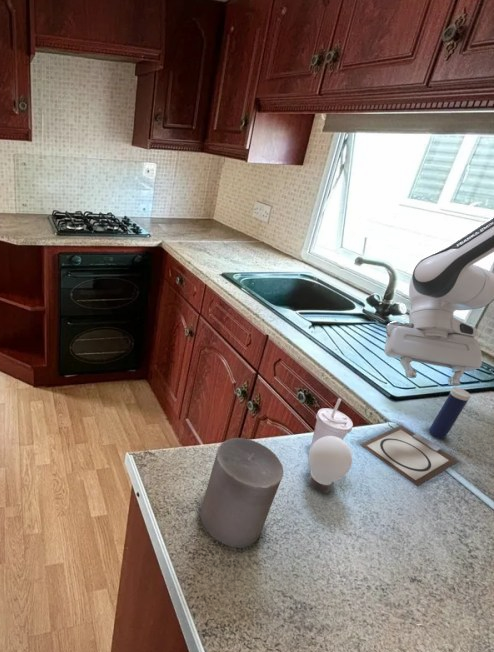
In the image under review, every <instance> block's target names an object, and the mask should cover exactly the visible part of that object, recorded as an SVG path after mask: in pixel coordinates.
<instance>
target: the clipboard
mask: <svg viewBox="0 0 494 652" xmlns="http://www.w3.org/2000/svg"><path fill="white" fill-rule="evenodd" d="M359 445H360V447H362V448H364V449H365V450H366V451H368V452H369V453H370V454H372V455H374V456H375V457H376V458H378V459H379V460H380V461H382V462H383V463H384V464H386V465H387V466H388V467H390V468H392V469H393V470H394V471H395V472H397V473H398V474H400V475H401V476H403V477H404V478H405V479H406V480H409V481H410V482H411V483H412V484H413V485H415V486H417V487H420V486H421V485H423V484H425V483H426V482H429V480H431V479H432V478H435V477H436V476H438V475H439V474H442V472H444V471H446V470H448V469H449V468H451V467H452V466H454V465H456V464H457V463H459V462H460V461H459V460H457V459H456V458H454V457H452V456H451V455H450V454H448V453H446V452H445V451H443V450H442V448H441V447H440V446H439V445H437V444H435V443H434V442H433V441H431V440H429V439H427V438H426V437H424V436H422V435H421V434H419V433H414V432H413V431H411V430H410V429H408V428H407V427H405V426H403V425H402V424H400V425H398V426H395V427H393V428H391V429H389V430H387V431H385V432H382V433H380V434H378V435H375V436H374V437H372V438H369V439H368V440H365V441H363V442H361V443H359Z"/></svg>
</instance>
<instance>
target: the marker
mask: <svg viewBox="0 0 494 652" xmlns="http://www.w3.org/2000/svg"><path fill="white" fill-rule="evenodd" d="M471 397H472V395H471V393H470V392H468V391H467V390H465V389H462V388H459V387H452V388H451V390H450V392H449V394H448V396H447V398H446V399H445V401H444V403H443V404H442V406H441V407H440V409H439V411H438V413H437V415H436V416H435V418H434V420H433V422H432V423H431V425H430V427H429V429H428V430H429V433H430V435H432V436H433V437H435V438H437V439H446V437H447V436H448V434H449V433H450V431H451V429H452V427H453V426H454V424H455V422H456V421H457V419H458V418H459V416H460V414H461V413H462V411H463V410H464V408H465V407H466V405H467V403H468V402H469V400H470V399H471Z"/></svg>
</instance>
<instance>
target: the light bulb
mask: <svg viewBox="0 0 494 652" xmlns="http://www.w3.org/2000/svg"><path fill="white" fill-rule="evenodd" d="M310 447H311V446H310ZM352 454H353V453H352V450H351V448H350V446H349V445H348V444H347V442H346V441H344V439H343V440H342V439H340V438H338V437H335V436H325V437H322V438H320V439H318V440H317V441H316V442H315V443H314V444H313V445H312V447H311V449H310V448H309V451H308V456H307V457H308V458H307V461H308V466H309V468H310V474H309V477H308V482H309V485H310V486H311V487H312V488H313V489H314V490H316V491H317V492H320V493H322V494H328V493H330V492H331V490H332V488H333V487H334V483H335V482H336V481H340V480H341V479H343V478H345V477H346V475H347V474H349V472H350V470H351V467H352V464H353V455H352Z"/></svg>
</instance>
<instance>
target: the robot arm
mask: <svg viewBox="0 0 494 652" xmlns="http://www.w3.org/2000/svg"><path fill="white" fill-rule="evenodd" d="M493 253H494V216H493V217H491V218H489V219H488V220H487V221H485V222H483V223H482V224H480V225H479V226H477V227H476V228H474V229H472V230H471V231H470V232H468V233H465V235H464V236H462V237H460V238H459V239H457V240H456V241H454V242H452V243H450V244H449V245H448V246H445V247H443V248H441V249H439V250H437V251H435V252H432V253H430V254H429V255H427V256H425V257H424V258H422V259H421V260H420V261H419V262H418V263H417V264H416V265H415V267H414V269H413V272H412V275H411V278H410V281H409V286H408V303H409V305H410V311H409V315H408V322H400V321H396V320H394V321H393V320H392V321H391V322H389V323H387V324H386V326H385V334H386V338H385V342H384V354H385V355H386V357H388V358H393V359H397V360H400V365H401V366H402V368H403V369H404V371H405V377H406V378H408V379H415V378H417V371H418V370H417V369H414V368H413V367H412V364H411V363H412V362H414V363H420V364H424V365H425V364H426V365H430V366H431V365H432V366H437V367H441V368H448V369H451V372H452V373H453V375H452V376H451V377H448V378H447V385H448V386H452V387H459V386H460V385H461V382H460V379H461V378H462V376H463V375H464V374H465V372H472V371H477V370H478V369H480V368H481V367H482V365H483V354H482V349H481V348H482V347H481V344H480V342H479V341H478V339H476V337H477V336H478V334H479V331H478V329H477V328H476V327H475V326H473V325H470V324H467V323H465V322H463V321H461V320H459V319H457V318H455V317H454V312H457V311H468V310H469V311H470V310H476V309H481V308H484V307H486V306H489V305H490V304H491V303H493V302H494V272H492V271H490V270H488V269H486V268H483V267H481V266H479V265H476V263H478V262H479V261H481V260H483V259H484V258H486V257H488V256H490V255H491V254H493Z"/></svg>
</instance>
